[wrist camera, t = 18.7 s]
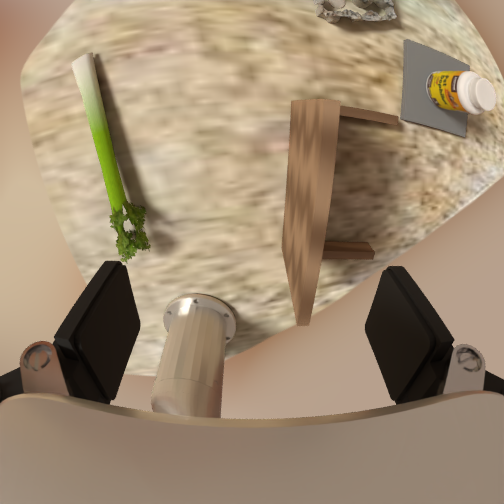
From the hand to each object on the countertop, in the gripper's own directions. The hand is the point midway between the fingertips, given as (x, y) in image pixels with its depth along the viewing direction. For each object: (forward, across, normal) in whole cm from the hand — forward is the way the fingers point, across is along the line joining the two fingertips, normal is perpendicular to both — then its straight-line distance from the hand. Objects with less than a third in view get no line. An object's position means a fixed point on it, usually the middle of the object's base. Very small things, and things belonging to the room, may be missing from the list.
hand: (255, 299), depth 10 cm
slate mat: (+28, -26, -13) cm, 41 cm away
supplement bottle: (+28, -26, -13) cm, 40 cm away
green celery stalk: (+29, +20, -1) cm, 35 cm away
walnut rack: (+28, -12, +3) cm, 31 cm away
